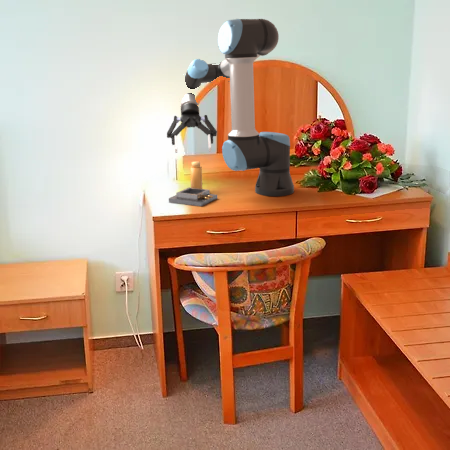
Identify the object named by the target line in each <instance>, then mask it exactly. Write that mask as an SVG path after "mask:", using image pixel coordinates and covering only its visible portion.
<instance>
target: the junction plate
mask: <svg viewBox="0 0 450 450" xmlns="http://www.w3.org/2000/svg"><path fill="white" fill-rule="evenodd" d="M215 200H218V194H215V193H210V189H205V188H202V189H198V188H191V187H187V188H184V189H183V190H180V191H177V192H176V194H175V195H173V196H171V197H169V198H168V202H169V203H173V204H180V205H186V206H187V205H189V206H195V207H203V206H205V205H208V204H209V203H211V202H213V201H215Z"/></svg>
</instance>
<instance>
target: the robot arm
mask: <svg viewBox="0 0 450 450" xmlns="http://www.w3.org/2000/svg"><path fill="white" fill-rule="evenodd" d="M217 35H218V36H217V45H218V46H217V47H218V48H219V49H218V50H219V51H220V52H221V54H223V55H224V59H223V60H222V61H221V62H219V63H220V64H219V65H212V64H213V63H207V62H206V61H205V60H202V59H200V58H196V59H193V60H192V61H191V63H190V64H189V66H188V68H187V70H186V72H185V74H186V75H185V82H186V85H187V87H188V88H190V89H195V88H197V87H199V86H200V87H201V85H202V84H206V83H207V82H209V83H212V82H211V81H213V80H214V79H216V78H217V77H219V76H223V77H226V78H230V81H229V88H230V89H229V90H230V91H229V92H230V93H229V94H230V112H231V114H230V116H231V130H230V132H228V134H227V140H225V141H224V142H223V143H222V147H221V149H222V150H221V152H222V157H223V161H224V163H225V164H226V166H227V168H229V169H230V170H232V171H235V172H239V171H243V172H244V171H247V170H253V169H259V173H258V177H257V178H256V182H255V186H254V193H255V194H258V195H260V196H265V197H284V196H288V195H289V196H290V195H292V194H293V193H294V192H295V185H294V182H293V179H292V178H293V177H292V176H291V173H290V171H291V169H290V168H291V166H290V165H291V162H290V161H291V140H290V139H291V138H290V136H289V135H288V134H285V133H281V132H275V131H261V132H258V130H257V129H256V124H255V123H256V121H255V119H256V118H255V114H256V113H255V90H254V89H255V88H254V85H255V84H254V79H255V77H254V62H255V61H256V60H257V59H258V58H259V57H261V56H262V57H264V56H267V55H268V54H269V53H271V52H272V51H273V50H274V49H276V47H277V45H278V42H279V31H278V29H277V27H276V26H275V24H274V23H273V22H272V21H270V20H268V19H265V18H235V19H234V18H233V19H228V20H226V21H224V22H223V24H222V25H221V26H220V28H219V31H218V34H217ZM201 83H202V84H201ZM200 87H199V88H200ZM197 105H199V102H198V103H197V102H196V100H195V95H194V94H192V93H187V94H185V95H184V97H183V98H182V100H181V106H180V117H179V116H177V115H174V116H173V121H172V123H171V125H170V126H169V128H168V130H167V132H166V138H167V139H171V144H172V145H171V146H174V151H175V154H176V153H178V141H177V140H178V139H177V136H178V135H179V134H180V133H181V132H182V131H183V130H184V129H186V128H195V127H196V128H198V129H199V130H200V131H202V132H203V133H204V134H205V135H206V136H207V143H208V151H209V152H212V144H214V137H217V135H218V134H217V133H218V131H217V129H216V128H215V127H214V125H213V123H211V121H210V120H209V118H208V115H207V114H204V115H203V116H200V107H198V106H197ZM179 122H180V124H179ZM177 124H179V125H178V126H177ZM204 124H205V125H204ZM176 126H177V128H176ZM175 128H176V129H175Z"/></svg>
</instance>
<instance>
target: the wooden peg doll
mask: <svg viewBox="0 0 450 450" xmlns="http://www.w3.org/2000/svg"><path fill="white" fill-rule="evenodd" d="M189 168H190V169H189V170H190V188H198V189H203V168H202V166H201V162H200V161H191V166H190V167H189Z"/></svg>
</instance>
